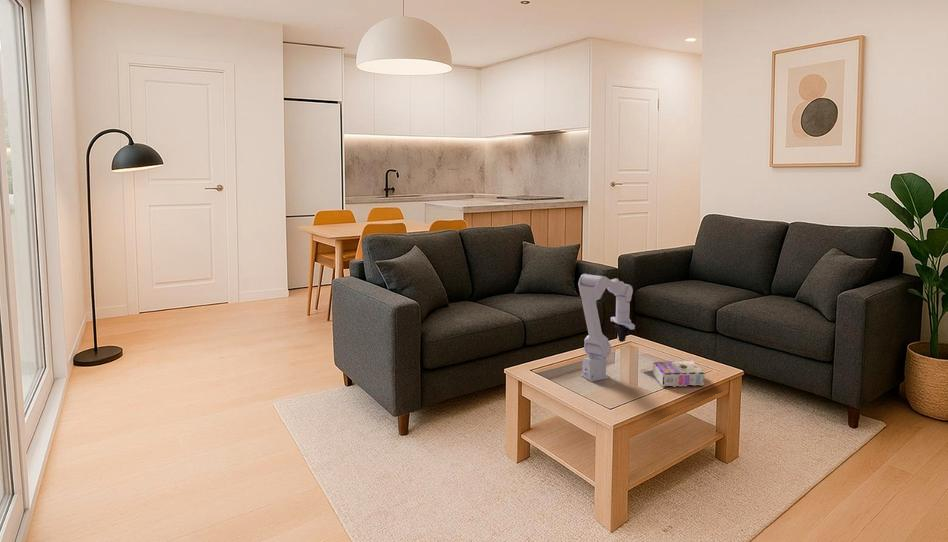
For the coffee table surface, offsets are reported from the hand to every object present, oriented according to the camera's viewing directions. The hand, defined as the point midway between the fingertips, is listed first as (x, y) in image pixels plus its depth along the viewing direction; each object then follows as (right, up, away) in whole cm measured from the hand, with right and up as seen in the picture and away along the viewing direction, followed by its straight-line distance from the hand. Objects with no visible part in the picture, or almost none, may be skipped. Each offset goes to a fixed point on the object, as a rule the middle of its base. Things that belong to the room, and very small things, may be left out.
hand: (621, 341), depth 262 cm
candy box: (+9, -11, -19) cm, 24 cm away
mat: (+18, -13, -14) cm, 26 cm away
